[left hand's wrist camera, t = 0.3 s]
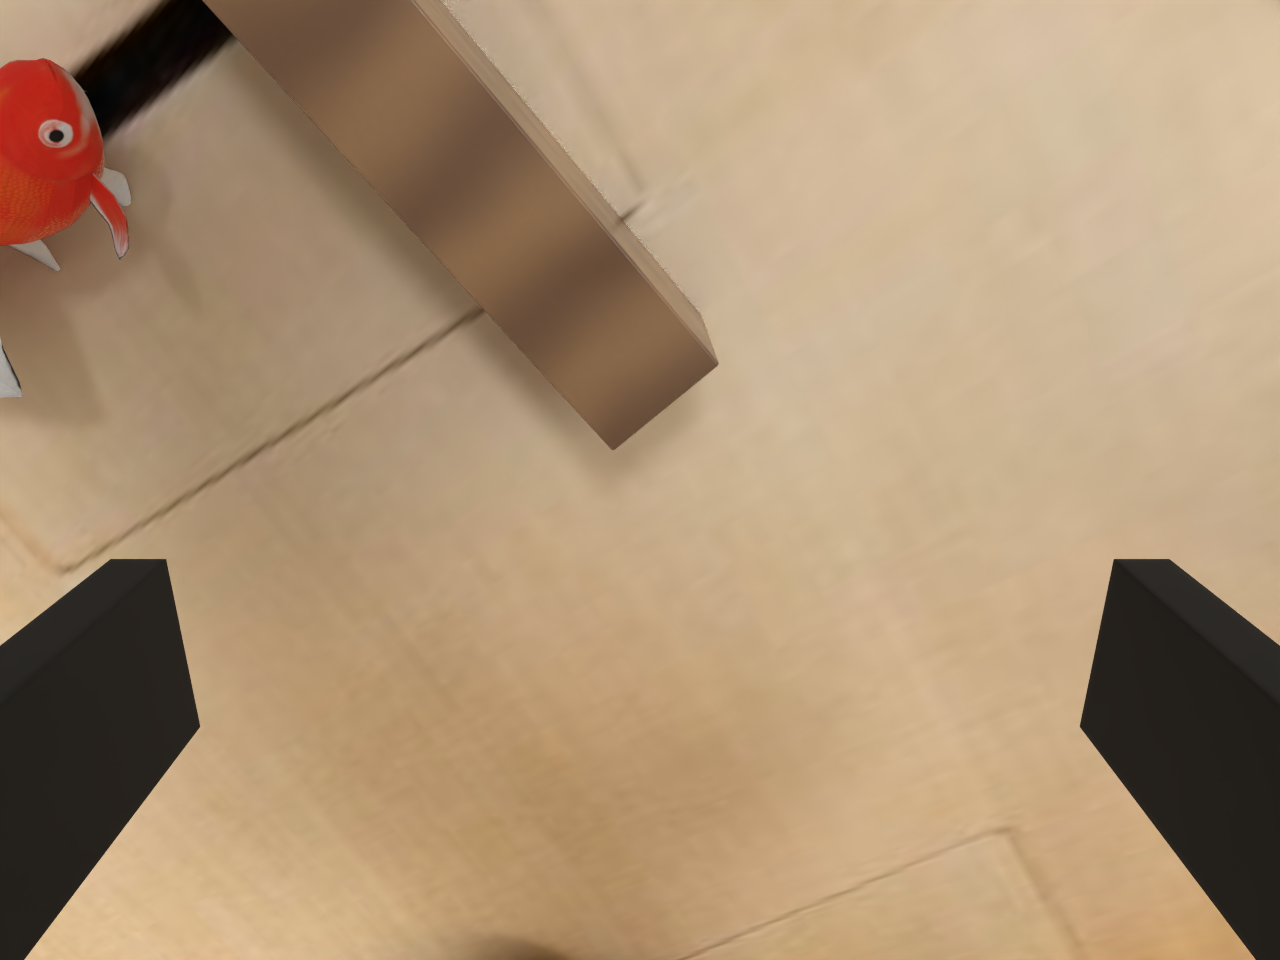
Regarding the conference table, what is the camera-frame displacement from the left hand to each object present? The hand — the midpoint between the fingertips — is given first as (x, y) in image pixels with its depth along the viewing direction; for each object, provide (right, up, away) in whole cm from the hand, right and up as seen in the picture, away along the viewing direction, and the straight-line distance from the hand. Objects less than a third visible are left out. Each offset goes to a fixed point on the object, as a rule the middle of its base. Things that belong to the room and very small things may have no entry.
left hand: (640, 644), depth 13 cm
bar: (-6, +16, +23) cm, 28 cm away
